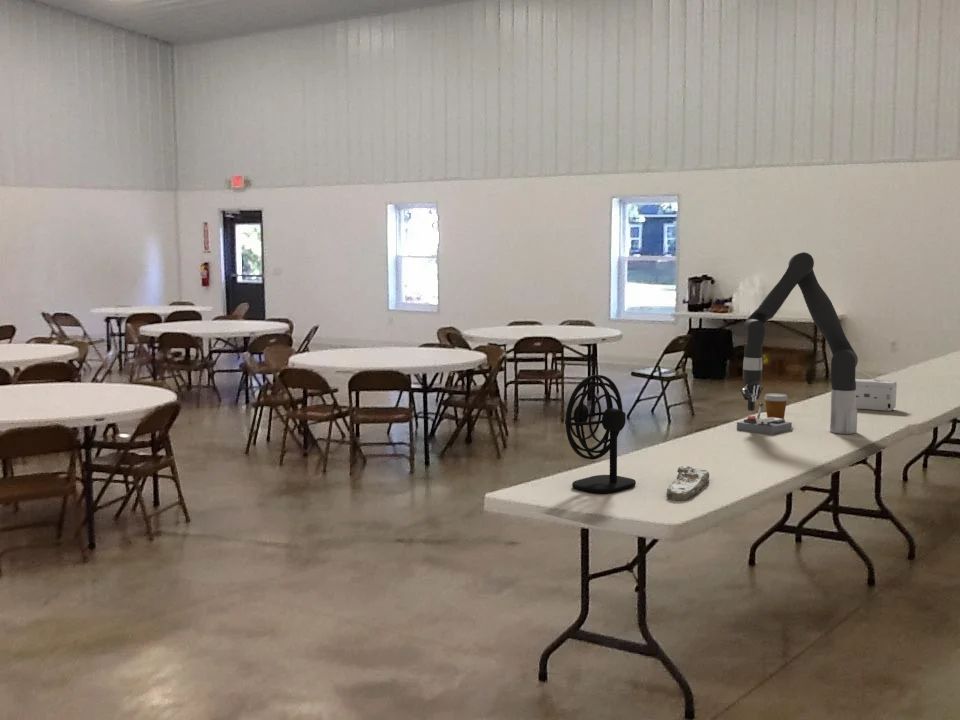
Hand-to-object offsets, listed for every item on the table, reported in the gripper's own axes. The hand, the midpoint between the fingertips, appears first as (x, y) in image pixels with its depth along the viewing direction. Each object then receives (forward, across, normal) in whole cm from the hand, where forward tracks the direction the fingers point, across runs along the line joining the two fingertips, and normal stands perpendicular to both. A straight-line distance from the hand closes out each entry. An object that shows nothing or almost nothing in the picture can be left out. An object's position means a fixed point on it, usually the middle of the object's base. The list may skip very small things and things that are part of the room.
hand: (751, 410), depth 416 cm
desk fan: (+8, -118, -22) cm, 120 cm away
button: (+3, 0, 0) cm, 3 cm away
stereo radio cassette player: (+8, +82, -10) cm, 83 cm away
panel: (+8, +3, -4) cm, 9 cm away
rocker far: (+3, -1, -7) cm, 8 cm away
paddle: (+4, +6, -7) cm, 11 cm away
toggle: (+5, +8, +2) cm, 9 cm away
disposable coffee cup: (+8, +20, +1) cm, 21 cm away
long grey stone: (+8, -101, -42) cm, 110 cm away
